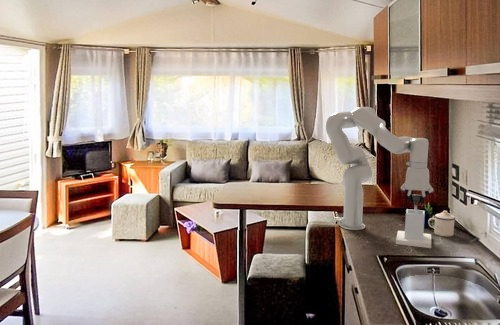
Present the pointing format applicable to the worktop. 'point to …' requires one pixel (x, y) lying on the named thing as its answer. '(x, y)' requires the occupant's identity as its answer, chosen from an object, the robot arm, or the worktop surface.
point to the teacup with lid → (443, 224)
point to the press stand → (414, 230)
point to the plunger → (416, 199)
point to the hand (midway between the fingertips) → (415, 204)
